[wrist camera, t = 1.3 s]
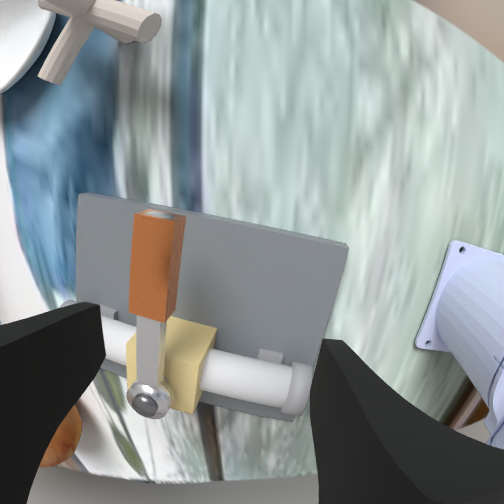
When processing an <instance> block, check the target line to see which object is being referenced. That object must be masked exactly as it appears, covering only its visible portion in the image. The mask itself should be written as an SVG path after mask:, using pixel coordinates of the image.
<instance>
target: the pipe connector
mask: <svg viewBox="0 0 504 504" xmlns="http://www.w3.org/2000/svg"><path fill="white" fill-rule="evenodd" d="M38 6H39V7H40V8H41V9H43V10H47V11H50V12H54V13H57V14H61V15H64V16H68V17H71V18H70V19H69V21H68V22H67V24H66V25H65V27H64V29H63V30H62V32H61V34H60V35H59V37H58V39H57V40H56V42H55V44H54V46H53V47H52V49H51V51H50V53H49V55H48V57H47V58H46V60H45V62H44V64H43V66H42V68H41V70H40V72H39V74H38V77H39V78H41V79H44V80H46V81H48V82H51V83H54V84H57V85H61V84H62V82H63V81H64V79H65V77H66V75H67V73H68V71H69V69H70V67H71V66H72V64H73V62H74V60H75V58H76V57H77V55H78V53H79V52H80V50H81V48H82V46H83V45H84V43H85V42H86V40H87V38H88V37H89V35H90V34H91V32H92V30H93V29H94V27H95V28H97V29H99V30H101V31H102V32H104V33H106V34H108V35H109V36H111V37H113V38H114V39H116V40H118V41H119V42H121V43H123V44H128V43H131V42H133V41H134V40H135V41H138V42H140V43H146V42H148V41H150V40H151V39H152V38H153V37H154V36H155V35H156V34H157V32H158V30H159V28H160V26H161V20H162V19H161V17H160V15H159V14H156V13H153V12H150V11H147V10H144V9H141V8H138V7H135V6H132V5H129V4H125V3H122V2H118V1H115V0H38Z"/></svg>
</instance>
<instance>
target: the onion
mask: <svg viewBox="0 0 504 504" xmlns="http://www.w3.org/2000/svg"><path fill="white" fill-rule="evenodd" d="M81 431H82V421H81V418H80V415H79V412H78V409H77V407H76V406H75V405H74V406H73V407H72V409H71V410H70V411H69V413H68V414H67V416H66V417H65V418H64V420H63V421H62V423H61V424H60V426H59V427H58V429H57V430H56V432H55V434H54V436H53V438H52V440H51V442H50V444H49V446H48V448H47V450H46V452H45V454H44V456H43V458H42V461H41V463H40V465H39V466H40V467H49V466H55V465H58V464H60V463H62V462H63V461H65V460H67V459H69V458H70V457H71V456H72V455H73V453H74V452H75V450H76V447H77V445H78V442H79V439H80V436H81Z"/></svg>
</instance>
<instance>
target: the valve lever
mask: <svg viewBox="0 0 504 504" xmlns="http://www.w3.org/2000/svg"><path fill="white" fill-rule="evenodd" d="M185 224H186V216H183V215H178V214H173V213H168V212H163V211H158V210H152V209H147V210H144V211H141V212H138V213H135V214H134V223H133V235H132V248H131V263H130V283H129V313H132V314H136V315H137V325H136V371H137V378H136V380H135V381H134V383H133V384H132V385H131V387H130V388H129V389H128V391H127V400H128V402H129V404H130V406H131V407H132V408H133V409H134V410H135V411H136V412H137V413H139V414H140V415H142V416H144V417H147V418H151V419H160V418H162V417H164V416H165V415H166V413H167V411H168V409H169V407H170V405H171V404H172V402H173V400H174V392H173V390H172V388H171V386H170V385H169V384H168V383H167V382H166V381H165V380H164V362H165V344H166V329H167V320H168V319H169V317H170V316H171V315H172V314H173V312H174V311H175V310H176V301H177V291H178V281H179V272H180V263H181V255H182V247H183V239H184V231H185Z"/></svg>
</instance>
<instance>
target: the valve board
mask: <svg viewBox="0 0 504 504" xmlns="http://www.w3.org/2000/svg"><path fill="white" fill-rule="evenodd" d="M147 209H152V210H158V211H163V212H168V213H173V214H178V215H183V216H186V224H185V231H184V239H183V247H182V255H181V263H180V272H179V281H178V291H177V301H176V310H175V311H174V312H173V314H172V315H171V316H170V317H169V319H168V320H167V329H166V344H165V362H164V380H165V381H166V382H167V383H168V384H169V385H170V386H171V388H172V390H173V392H174V400H173V402H172V404H171V405H170V407H169V408H172V409H176V410H179V411H182V412H186V413H189V414H194V411H195V409H196V407H197V404H198V402H199V401H200V402H204V403H207V404H211V405H215V406H219V407H223V408H227V409H231V410H236V411H240V412H244V413H249V414H254V415H258V416H263V417H268V418H274V419H279V420H285V421H291V422H292V421H293V419H294V416H295V415H298V416H301V415H302V413H303V412H304V409H305V407H306V404H307V401H308V398H309V394H310V388H311V384H312V375H313V369H312V368H313V365H314V362H315V359H316V356H317V354H318V351H319V348H320V345H321V342H322V339H323V336H324V332H325V329H326V326H327V323H328V320H329V317H330V313H331V310H332V307H333V304H334V300H335V297H336V294H337V290H338V287H339V283H340V280H341V276H342V273H343V269H344V265H345V262H346V258H347V254H348V250H349V247H348V246H347V244H346V243H341V242H337V241H333V240H328V239H324V238H319V237H315V236H310V235H305V234H301V233H296V232H292V231H287V230H282V229H277V228H273V227H268V226H263V225H258V224H254V223H249V222H244V221H239V220H234V219H229V218H224V217H219V216H214V215H209V214H204V213H199V212H194V211H188V210H183V209H178V208H173V207H167V206H162V205H157V204H151V203H146V202H140V201H135V200H129V199H124V198H118V197H112V196H107V195H101V194H95V193H89V192H88V193H82V194H79V197H78V212H77V234H76V284H77V302H76V301H73V300H68V301H66V302H65V303H63V304H62V305H61V307H65V306H68V305H72V304H76V303H80V302H89V303H94V304H98V305H100V310H101V320H102V328H103V336H104V343H105V350H106V357H105V359H104V361H103V363H102V365H101V367H100V368H102V369H104V370H107V371H109V372H112V373H115V374H117V375H120V376H123V377H125V378H127V387H128V389H129V388H130V387H131V385H132V384H133V383H134V381H135V380H136V378H137V371H136V325H137V315H136V314H132V313H129V283H130V263H131V248H132V235H133V223H134V214H135V213H138V212H141V211H144V210H147ZM61 307H60V308H61Z"/></svg>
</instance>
